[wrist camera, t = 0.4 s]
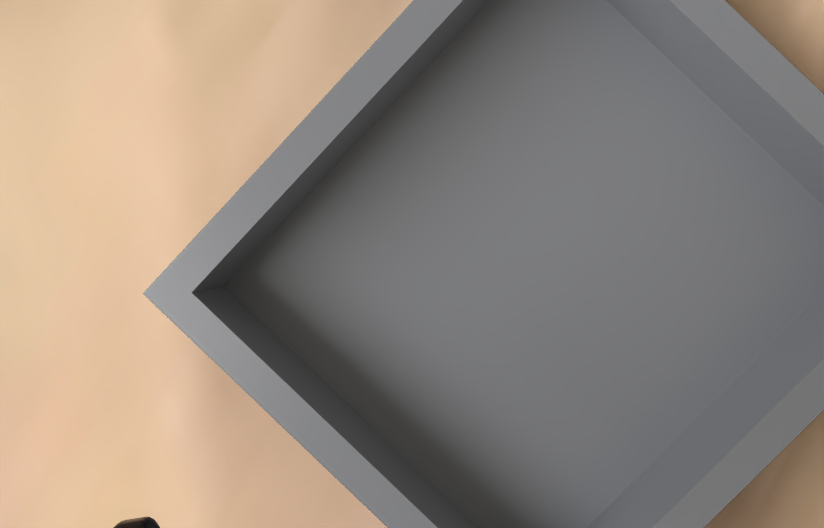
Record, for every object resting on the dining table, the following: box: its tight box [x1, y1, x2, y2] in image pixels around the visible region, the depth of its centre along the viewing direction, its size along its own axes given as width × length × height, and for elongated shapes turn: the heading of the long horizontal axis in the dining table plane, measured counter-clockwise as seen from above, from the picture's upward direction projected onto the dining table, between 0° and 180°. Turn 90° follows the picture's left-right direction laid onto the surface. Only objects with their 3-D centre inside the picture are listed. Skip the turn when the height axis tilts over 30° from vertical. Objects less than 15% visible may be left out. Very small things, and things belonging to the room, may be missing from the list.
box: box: [143, 0, 824, 528], centre depth 22 cm, size 16×17×4 cm
